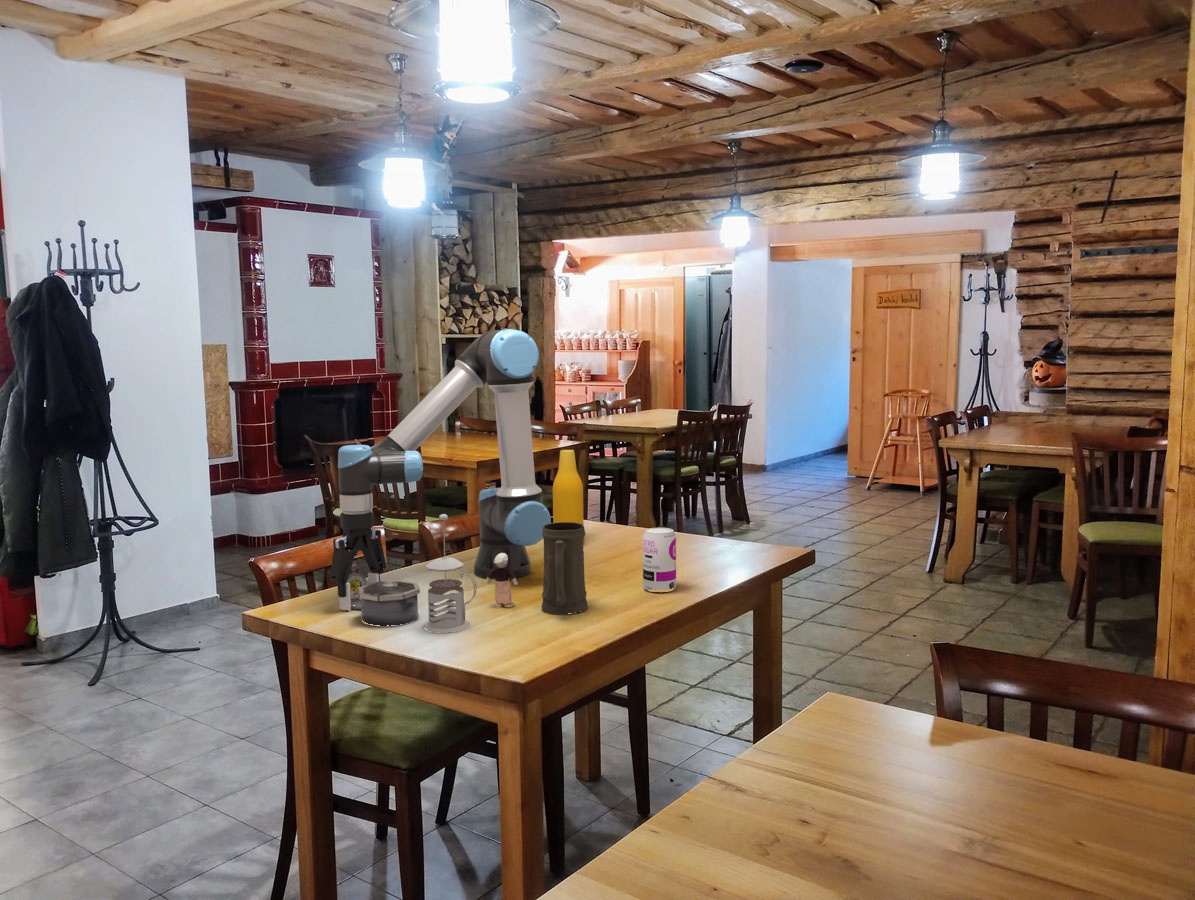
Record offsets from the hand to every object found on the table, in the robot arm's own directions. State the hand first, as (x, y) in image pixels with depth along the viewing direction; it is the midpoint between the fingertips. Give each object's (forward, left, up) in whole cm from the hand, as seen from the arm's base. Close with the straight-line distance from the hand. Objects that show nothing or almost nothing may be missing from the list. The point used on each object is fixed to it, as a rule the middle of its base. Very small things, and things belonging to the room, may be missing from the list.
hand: (360, 604), depth 226 cm
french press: (-18, +23, 0) cm, 30 cm away
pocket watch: (0, 0, 0) cm, 1 cm away
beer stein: (-45, +20, 0) cm, 49 cm away
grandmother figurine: (-32, +11, 0) cm, 34 cm away
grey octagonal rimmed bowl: (-6, +13, 0) cm, 14 cm away
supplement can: (-72, +9, 0) cm, 73 cm away
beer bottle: (-63, -47, 0) cm, 79 cm away
